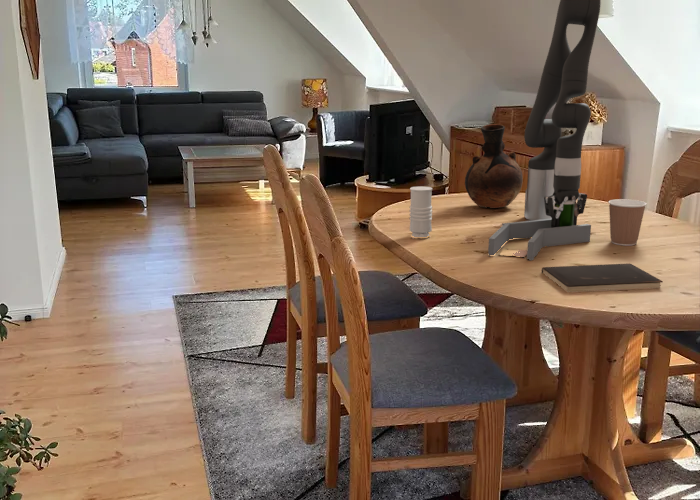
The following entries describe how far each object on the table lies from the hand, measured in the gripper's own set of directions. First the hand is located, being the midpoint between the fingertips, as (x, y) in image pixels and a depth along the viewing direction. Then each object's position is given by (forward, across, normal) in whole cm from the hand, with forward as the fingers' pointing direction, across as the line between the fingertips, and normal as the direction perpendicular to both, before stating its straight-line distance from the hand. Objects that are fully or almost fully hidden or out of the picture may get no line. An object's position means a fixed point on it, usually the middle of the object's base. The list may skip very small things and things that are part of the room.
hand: (563, 228), depth 211 cm
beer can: (+3, 0, 0) cm, 3 cm away
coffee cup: (+3, -13, +11) cm, 17 cm away
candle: (+3, +38, -19) cm, 43 cm away
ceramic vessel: (+3, -6, -49) cm, 49 cm away
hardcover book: (+4, +18, +38) cm, 42 cm away
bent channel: (+3, +13, +5) cm, 14 cm away
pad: (+3, +23, +9) cm, 25 cm away
